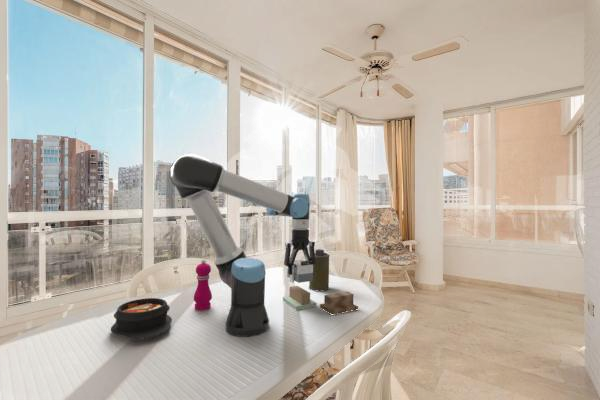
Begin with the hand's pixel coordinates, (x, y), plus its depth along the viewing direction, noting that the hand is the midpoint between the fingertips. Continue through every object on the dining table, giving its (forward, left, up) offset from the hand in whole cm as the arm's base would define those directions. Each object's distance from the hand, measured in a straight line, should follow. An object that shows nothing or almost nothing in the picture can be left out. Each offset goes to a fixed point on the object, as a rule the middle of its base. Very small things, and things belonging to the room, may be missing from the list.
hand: (299, 280), depth 130 cm
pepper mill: (-39, +12, -10) cm, 42 cm away
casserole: (-61, 0, -10) cm, 62 cm away
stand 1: (0, 0, -10) cm, 10 cm away
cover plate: (0, 0, +4) cm, 4 cm away
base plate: (0, 0, +1) cm, 1 cm away
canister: (+20, +16, -10) cm, 28 cm away
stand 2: (+12, -13, -10) cm, 20 cm away
